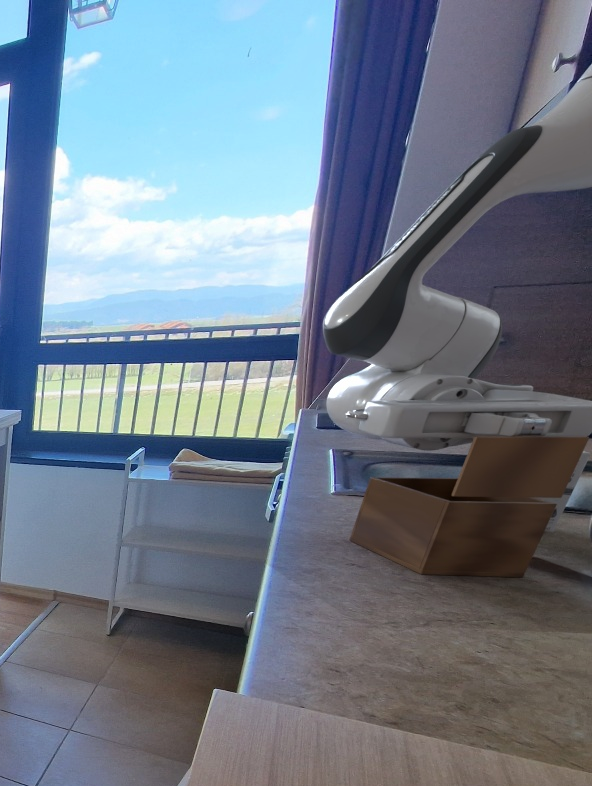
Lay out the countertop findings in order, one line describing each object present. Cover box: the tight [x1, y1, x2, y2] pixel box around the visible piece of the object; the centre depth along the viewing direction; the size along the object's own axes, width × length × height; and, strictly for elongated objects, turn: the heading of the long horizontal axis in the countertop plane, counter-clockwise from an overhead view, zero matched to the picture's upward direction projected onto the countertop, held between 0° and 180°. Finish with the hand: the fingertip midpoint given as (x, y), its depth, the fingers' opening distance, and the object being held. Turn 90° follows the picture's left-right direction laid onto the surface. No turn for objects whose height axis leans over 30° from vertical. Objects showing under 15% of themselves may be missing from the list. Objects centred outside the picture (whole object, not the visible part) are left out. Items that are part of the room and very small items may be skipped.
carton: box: [348, 476, 557, 578], centre depth 75 cm, size 10×13×8 cm
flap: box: [451, 436, 590, 498], centre depth 66 cm, size 10×6×1 cm
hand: (533, 428), depth 65 cm, fingers closed
